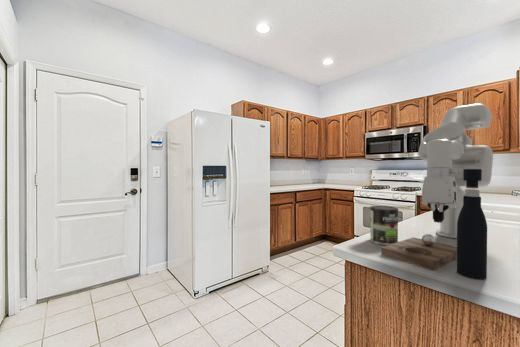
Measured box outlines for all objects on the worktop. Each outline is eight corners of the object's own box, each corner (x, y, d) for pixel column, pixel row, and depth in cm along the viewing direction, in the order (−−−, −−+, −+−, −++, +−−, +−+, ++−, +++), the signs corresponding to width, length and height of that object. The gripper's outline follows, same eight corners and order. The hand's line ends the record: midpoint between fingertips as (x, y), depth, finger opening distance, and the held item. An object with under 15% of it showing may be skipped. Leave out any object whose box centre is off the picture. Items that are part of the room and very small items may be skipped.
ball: (425, 242, 89) (425, 232, 89) (437, 245, 86) (437, 234, 85) (419, 244, 87) (419, 233, 87) (432, 247, 83) (432, 236, 83)
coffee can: (404, 244, 95) (404, 209, 95) (380, 246, 93) (380, 210, 93) (386, 237, 105) (386, 205, 105) (365, 238, 104) (365, 206, 103)
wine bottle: (492, 280, 64) (494, 169, 64) (465, 278, 66) (467, 169, 65) (475, 270, 71) (477, 168, 70) (451, 269, 72) (452, 169, 71)
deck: (413, 243, 96) (413, 237, 96) (462, 255, 83) (462, 248, 83) (381, 254, 85) (381, 247, 84) (433, 270, 71) (433, 262, 71)
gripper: (468, 173, 85) (467, 224, 85) (421, 172, 98) (421, 217, 98) (459, 172, 81) (458, 227, 81) (412, 172, 94) (411, 219, 94)
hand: (438, 221), depth 90 cm, fingers closed
